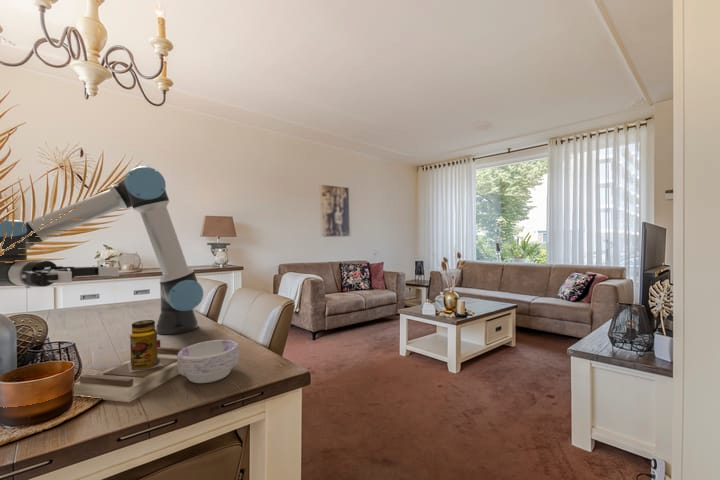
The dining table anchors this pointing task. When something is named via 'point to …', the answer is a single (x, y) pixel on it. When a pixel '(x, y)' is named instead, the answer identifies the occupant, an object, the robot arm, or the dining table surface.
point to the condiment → (143, 346)
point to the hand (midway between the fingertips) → (95, 274)
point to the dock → (129, 379)
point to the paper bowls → (208, 360)
